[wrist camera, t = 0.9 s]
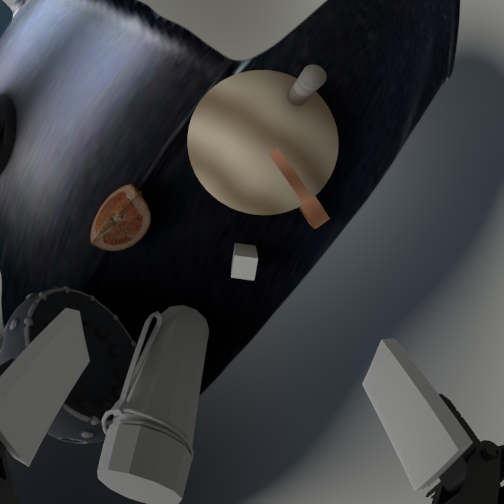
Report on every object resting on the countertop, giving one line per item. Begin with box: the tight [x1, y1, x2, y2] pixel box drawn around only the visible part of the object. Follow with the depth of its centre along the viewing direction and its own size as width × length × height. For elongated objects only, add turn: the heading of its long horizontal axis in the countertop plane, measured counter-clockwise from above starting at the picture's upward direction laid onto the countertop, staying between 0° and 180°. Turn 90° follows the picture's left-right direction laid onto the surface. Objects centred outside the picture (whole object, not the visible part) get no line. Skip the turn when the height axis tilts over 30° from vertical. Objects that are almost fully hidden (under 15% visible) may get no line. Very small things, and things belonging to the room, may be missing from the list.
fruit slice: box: [90, 184, 151, 251], centre depth 30 cm, size 8×7×5 cm
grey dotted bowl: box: [0, 286, 140, 444], centre depth 27 cm, size 11×20×20 cm, turn 36°
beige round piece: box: [188, 65, 338, 229], centre depth 25 cm, size 16×19×10 cm
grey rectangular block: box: [231, 243, 258, 281], centre depth 32 cm, size 2×2×5 cm
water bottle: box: [97, 305, 209, 504], centre depth 24 cm, size 9×8×25 cm
